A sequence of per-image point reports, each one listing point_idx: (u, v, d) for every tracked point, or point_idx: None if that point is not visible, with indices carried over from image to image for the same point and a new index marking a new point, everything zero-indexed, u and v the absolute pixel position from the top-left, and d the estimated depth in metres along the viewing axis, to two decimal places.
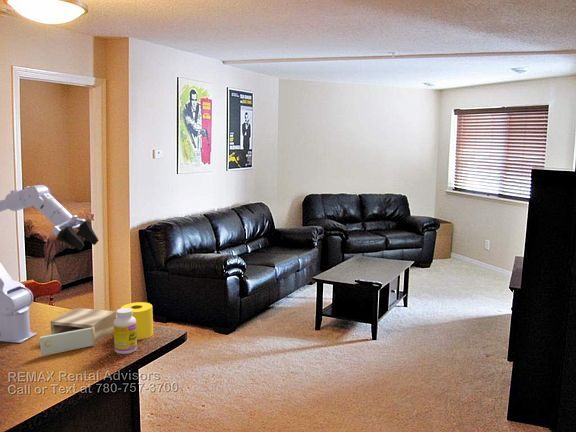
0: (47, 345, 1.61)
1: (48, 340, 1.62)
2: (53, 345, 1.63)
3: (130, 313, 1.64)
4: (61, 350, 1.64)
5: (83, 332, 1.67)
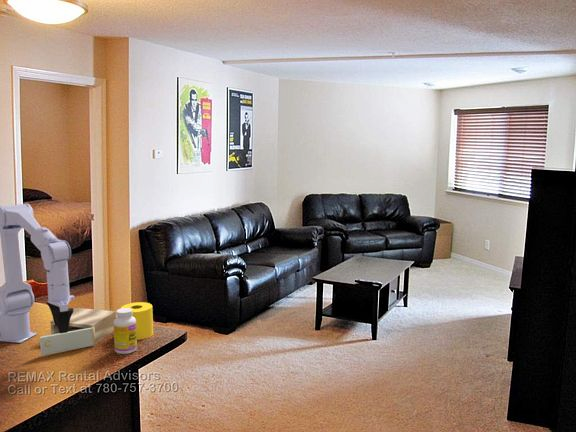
0: (47, 345, 1.61)
1: (48, 340, 1.62)
2: (53, 345, 1.63)
3: (130, 313, 1.64)
4: (61, 350, 1.64)
5: (83, 332, 1.67)
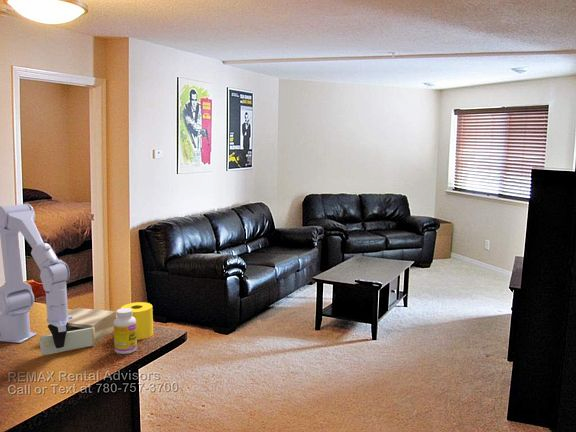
0: (47, 345, 1.61)
1: (48, 340, 1.62)
2: (53, 345, 1.63)
3: (130, 313, 1.64)
4: (61, 350, 1.64)
5: (83, 332, 1.67)
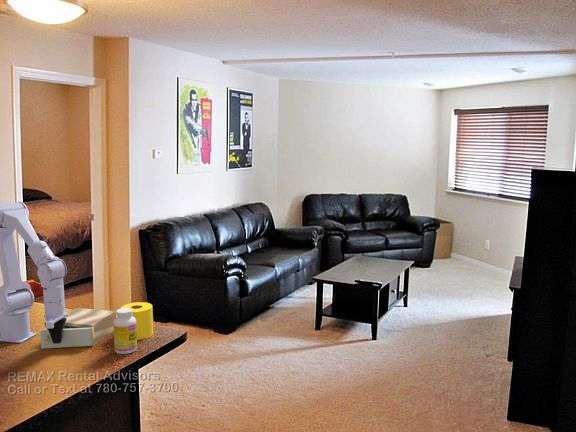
0: (45, 339, 1.66)
1: (47, 334, 1.66)
2: None
3: (130, 313, 1.64)
4: (60, 346, 1.68)
5: (81, 331, 1.68)
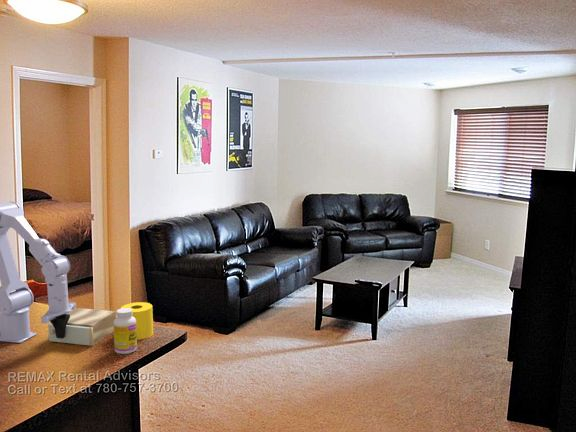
0: (51, 332, 1.71)
1: (54, 328, 1.71)
2: None
3: (130, 313, 1.64)
4: (64, 341, 1.71)
5: (81, 329, 1.69)
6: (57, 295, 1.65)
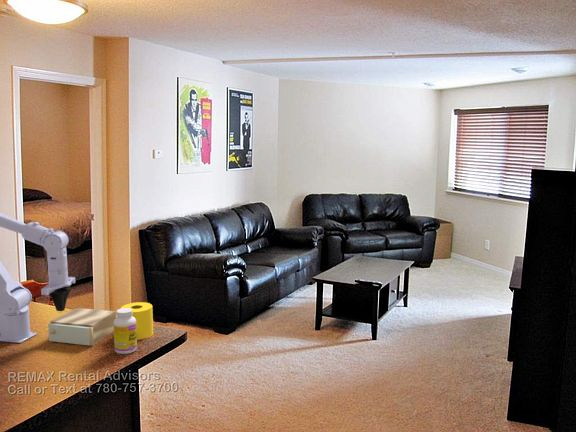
0: (51, 332, 1.71)
1: (54, 328, 1.71)
2: (58, 334, 1.71)
3: (130, 313, 1.64)
4: (64, 341, 1.71)
5: (81, 329, 1.69)
6: (60, 268, 1.70)
